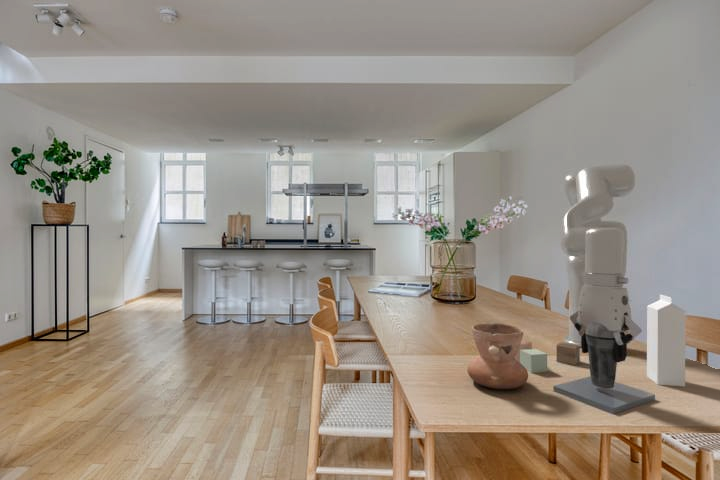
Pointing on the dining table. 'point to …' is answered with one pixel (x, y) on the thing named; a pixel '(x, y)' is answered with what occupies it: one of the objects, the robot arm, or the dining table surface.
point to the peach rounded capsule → (523, 348)
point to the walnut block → (568, 353)
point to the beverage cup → (601, 355)
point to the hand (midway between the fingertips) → (602, 356)
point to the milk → (666, 343)
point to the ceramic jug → (497, 356)
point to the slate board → (604, 395)
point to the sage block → (533, 360)
